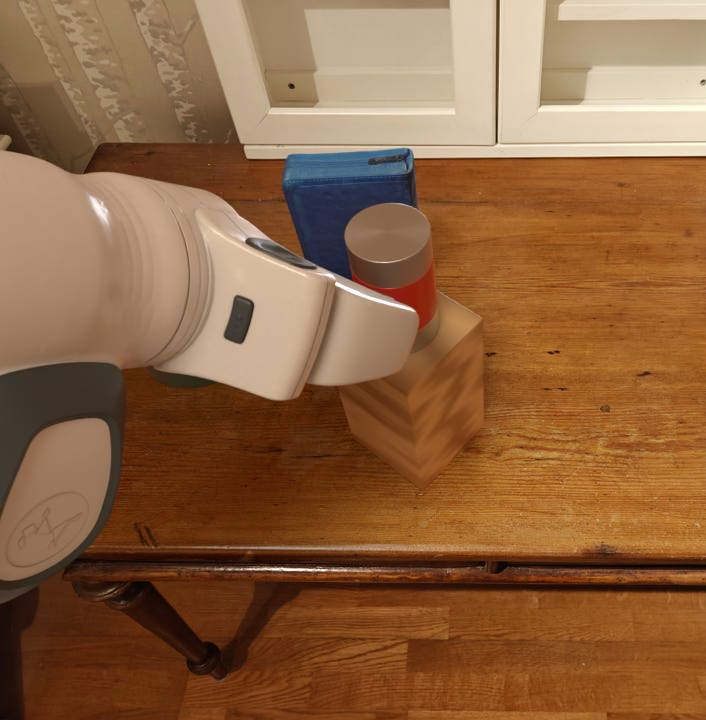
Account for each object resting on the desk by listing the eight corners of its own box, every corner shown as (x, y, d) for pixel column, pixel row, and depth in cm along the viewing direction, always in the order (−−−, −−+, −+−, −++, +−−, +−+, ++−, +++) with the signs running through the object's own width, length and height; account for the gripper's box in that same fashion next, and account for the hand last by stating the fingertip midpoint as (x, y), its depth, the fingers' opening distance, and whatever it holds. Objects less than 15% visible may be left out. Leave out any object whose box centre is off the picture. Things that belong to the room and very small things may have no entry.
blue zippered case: (431, 271, 89) (419, 138, 73) (432, 302, 86) (419, 170, 70) (318, 277, 89) (281, 144, 73) (315, 308, 86) (275, 177, 70)
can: (404, 368, 58) (389, 276, 49) (349, 330, 60) (325, 236, 52) (455, 320, 61) (449, 226, 52) (399, 286, 63) (385, 191, 55)
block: (423, 491, 71) (406, 392, 56) (353, 438, 75) (320, 333, 60) (484, 425, 76) (483, 318, 61) (415, 378, 79) (398, 267, 65)
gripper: (12, 259, 38) (199, 269, 51) (307, 418, 32) (436, 384, 45) (36, 146, 37) (222, 185, 50) (349, 289, 31) (469, 292, 43)
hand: (325, 280), depth 47 cm, fingers open, 8 cm apart
